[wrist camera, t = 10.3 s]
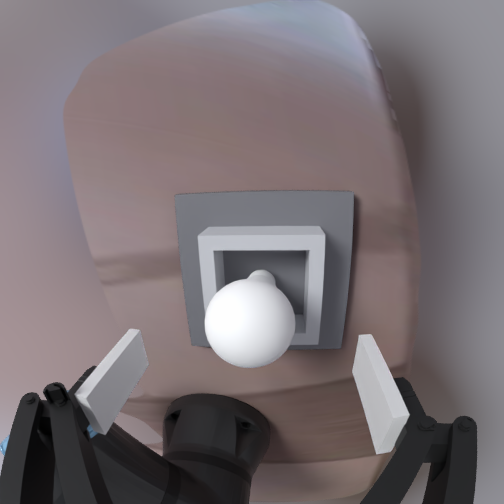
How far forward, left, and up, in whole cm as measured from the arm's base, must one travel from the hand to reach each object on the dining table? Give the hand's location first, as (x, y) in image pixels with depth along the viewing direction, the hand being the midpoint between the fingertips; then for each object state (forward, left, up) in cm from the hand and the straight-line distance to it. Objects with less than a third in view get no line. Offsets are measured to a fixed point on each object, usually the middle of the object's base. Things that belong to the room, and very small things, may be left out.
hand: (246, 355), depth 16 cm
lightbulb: (0, 0, -12) cm, 12 cm away
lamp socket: (0, 0, -13) cm, 13 cm away
